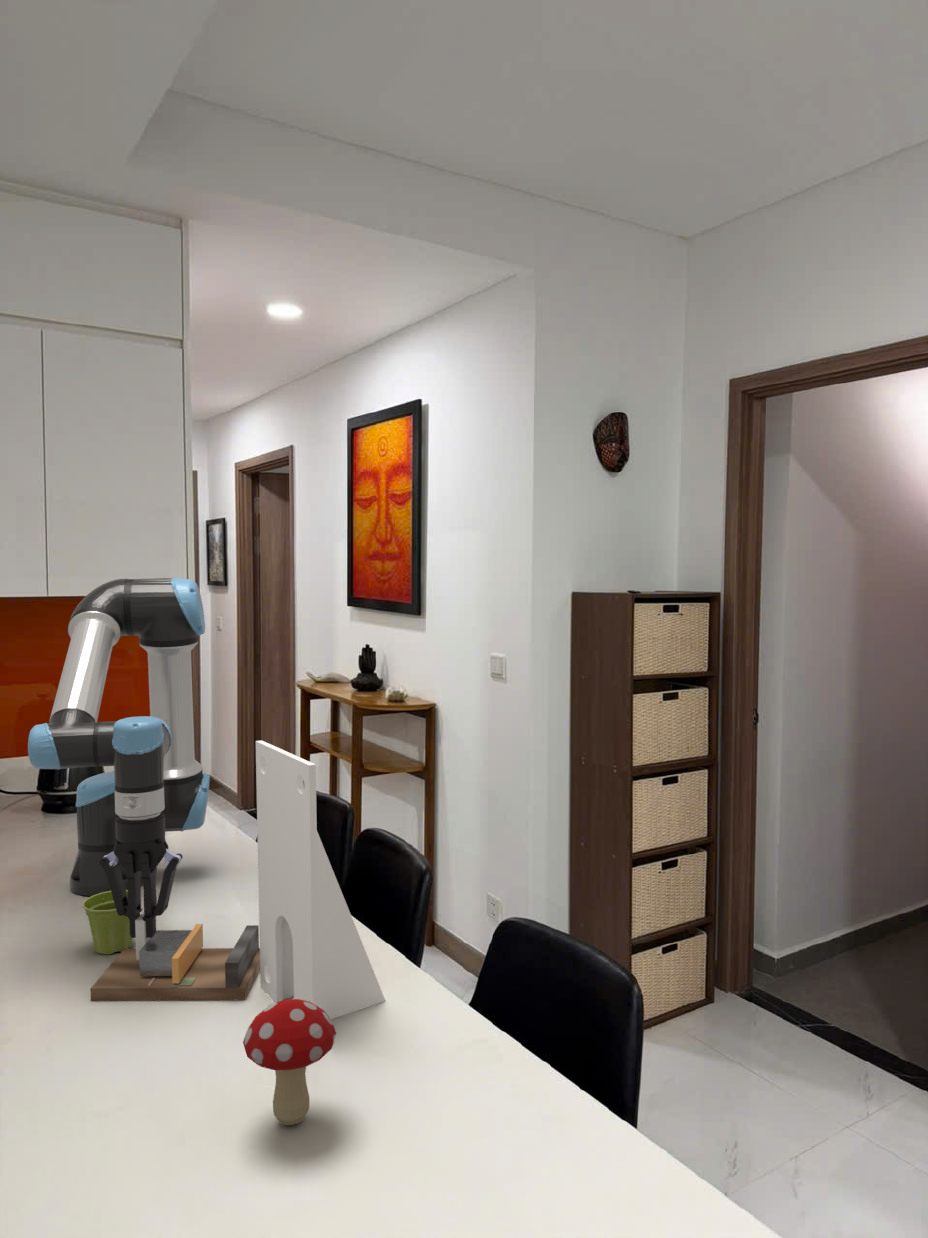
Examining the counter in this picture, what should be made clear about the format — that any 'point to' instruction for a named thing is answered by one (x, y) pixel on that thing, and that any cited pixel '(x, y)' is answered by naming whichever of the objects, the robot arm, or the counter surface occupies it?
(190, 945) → the upright wooden plank
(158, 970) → the grey foam block
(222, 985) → the gauge board
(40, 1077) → the counter surface
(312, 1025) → the decorative mushroom
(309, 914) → the white bracket plate
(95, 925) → the plant pot
